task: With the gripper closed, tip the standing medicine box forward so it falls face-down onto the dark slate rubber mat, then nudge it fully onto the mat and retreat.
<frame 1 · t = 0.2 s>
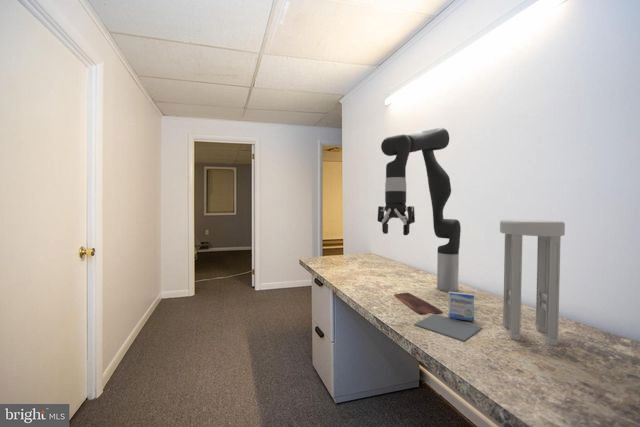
hand: (395, 234, 109), 29 cm above the countertop, tool pointing down, fingers open, 8 cm apart
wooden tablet: (414, 304, 120), on the countertop
mat: (447, 326, 96), on the countertop
stool: (528, 335, 91), on the countertop
medicine box: (460, 318, 103), on the countertop, touching mat
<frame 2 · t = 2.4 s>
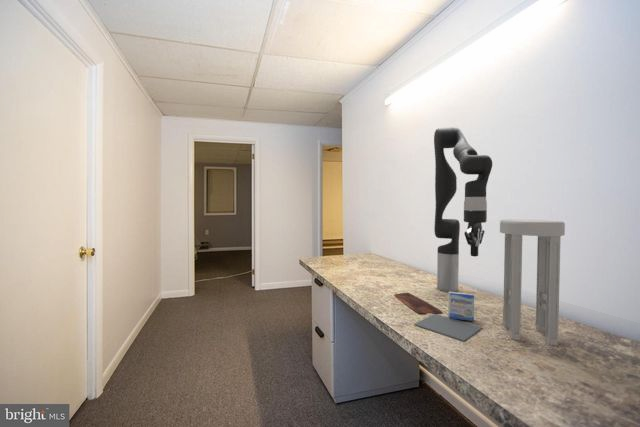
hand: (474, 256, 110), 21 cm above the countertop, tool pointing down, fingers closed
nothing on the countertop moved.
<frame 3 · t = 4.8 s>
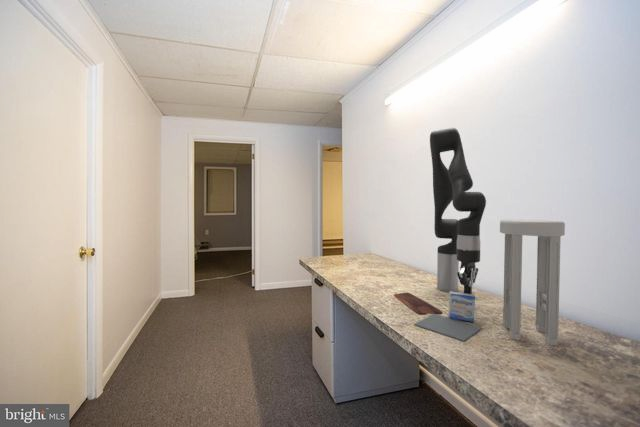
hand: (467, 296, 106), 7 cm above the countertop, tool pointing down, fingers closed
medicine box: (460, 318, 103), on the countertop, touching gripper, mat
everything else where it was.
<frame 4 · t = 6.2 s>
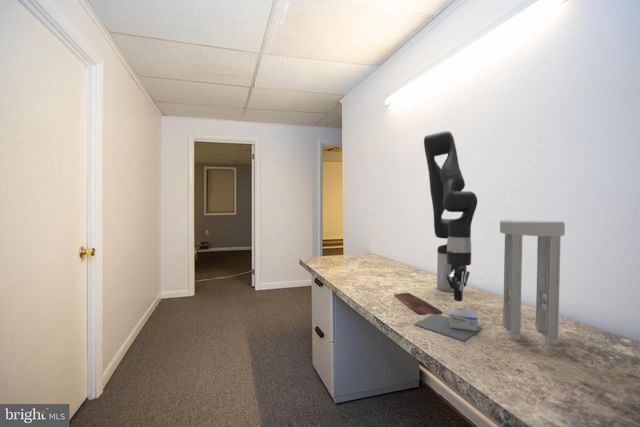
hand: (458, 300, 101), 7 cm above the countertop, tool pointing down, fingers closed
medicine box: (461, 313, 101), point 3 cm above the countertop, touching mat
everything else where it was.
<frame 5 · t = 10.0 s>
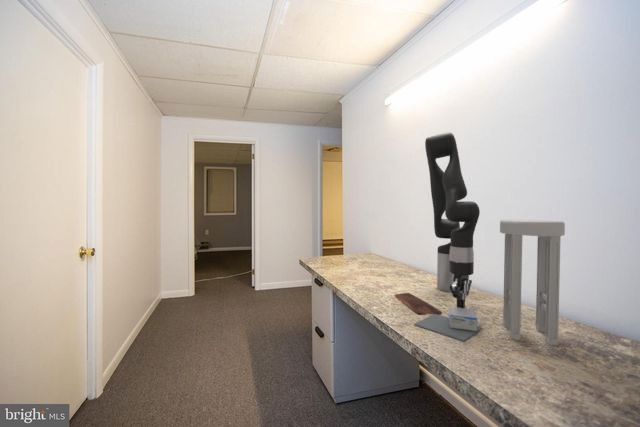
hand: (460, 309, 102), 4 cm above the countertop, tool pointing down, fingers closed
medicine box: (461, 313, 101), point 3 cm above the countertop, touching gripper, mat
everything else where it was.
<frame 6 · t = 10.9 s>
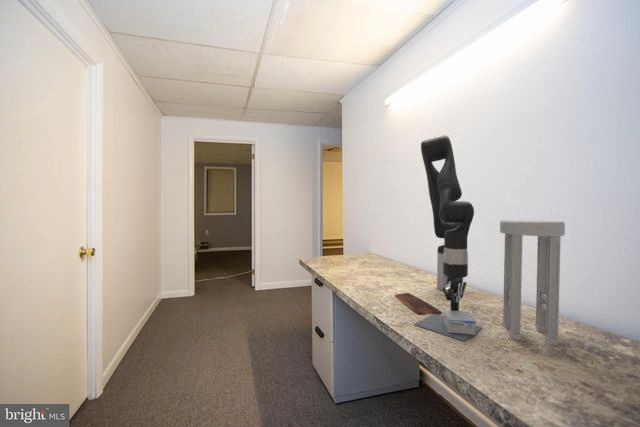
hand: (454, 312, 99), 4 cm above the countertop, tool pointing down, fingers closed
medicine box: (456, 316, 98), point 3 cm above the countertop, touching gripper, mat
everything else where it was.
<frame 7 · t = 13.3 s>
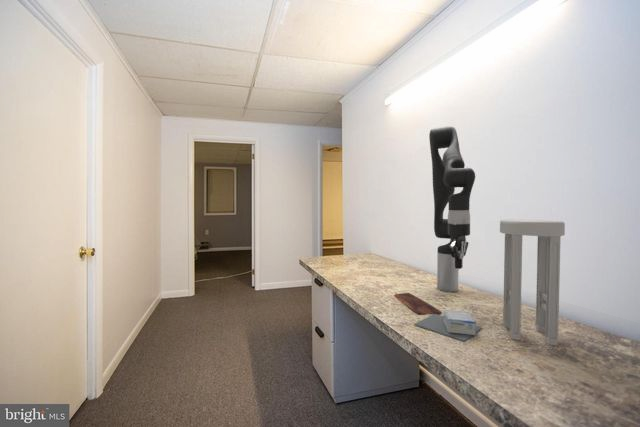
hand: (458, 268, 111), 16 cm above the countertop, tool pointing down, fingers closed
medicine box: (456, 316, 98), point 3 cm above the countertop, touching mat
everything else where it was.
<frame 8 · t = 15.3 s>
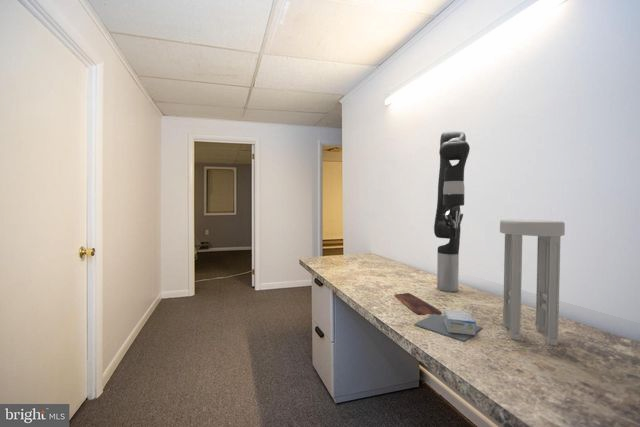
hand: (453, 237, 115), 27 cm above the countertop, tool pointing down, fingers closed
nothing on the countertop moved.
at the end: medicine box tilted 90°; medicine box inside the target area (4.0 cm from its centre), point 2.6 cm above the countertop; the gripper is holding nothing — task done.
